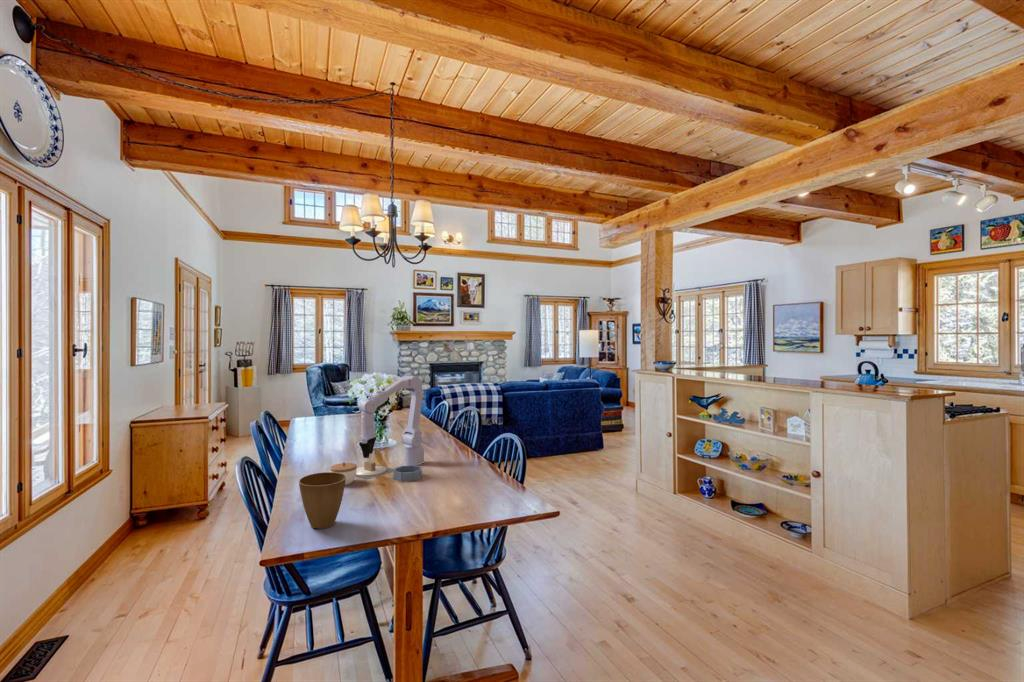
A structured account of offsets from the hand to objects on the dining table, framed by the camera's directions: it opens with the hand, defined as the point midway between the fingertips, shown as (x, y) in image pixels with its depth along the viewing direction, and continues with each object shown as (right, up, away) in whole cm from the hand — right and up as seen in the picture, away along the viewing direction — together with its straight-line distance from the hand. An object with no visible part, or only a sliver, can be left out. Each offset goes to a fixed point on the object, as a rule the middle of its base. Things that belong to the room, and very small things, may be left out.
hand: (368, 455), depth 221 cm
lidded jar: (-7, -10, -13) cm, 17 cm away
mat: (-1, -9, +5) cm, 10 cm away
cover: (-1, -9, +5) cm, 10 cm away
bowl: (+19, -9, -4) cm, 21 cm away
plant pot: (+2, -10, -57) cm, 58 cm away
